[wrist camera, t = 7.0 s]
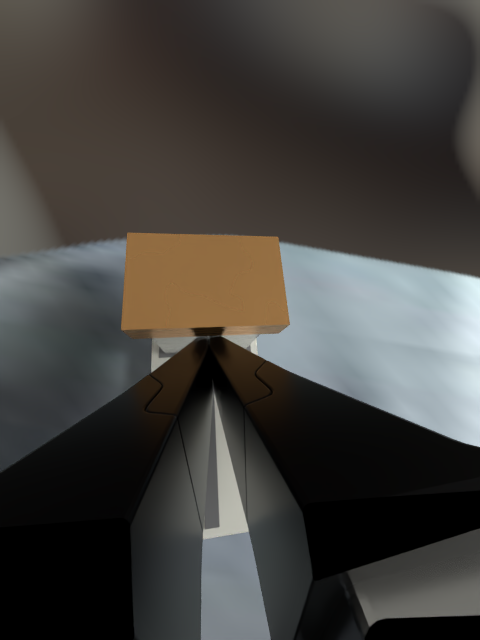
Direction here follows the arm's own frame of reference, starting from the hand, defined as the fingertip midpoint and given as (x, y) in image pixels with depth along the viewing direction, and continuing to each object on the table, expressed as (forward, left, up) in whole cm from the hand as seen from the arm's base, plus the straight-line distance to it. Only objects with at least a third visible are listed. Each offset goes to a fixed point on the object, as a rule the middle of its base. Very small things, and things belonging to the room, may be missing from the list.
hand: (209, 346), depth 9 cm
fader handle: (+1, +1, -5) cm, 5 cm away
